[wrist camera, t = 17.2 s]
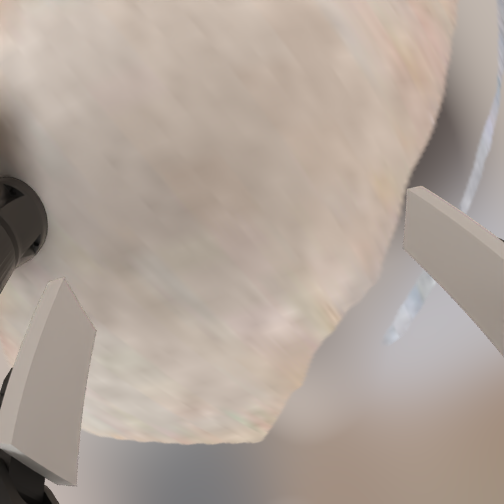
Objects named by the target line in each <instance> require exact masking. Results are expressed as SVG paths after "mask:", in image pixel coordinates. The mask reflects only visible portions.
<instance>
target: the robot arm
mask: <svg viewBox="0 0 504 504" xmlns="http://www.w3.org/2000/svg"><path fill="white" fill-rule="evenodd" d="M46 234H47V218H46V213H45V210H44V207H43V205H42V203H41V201H40V199H39V197H38V196H37V194H36V193H35V192H34V191H33V190H32V189H31V188H30V187H29V186H28V185H27V184H25V183H24V182H22V181H20V180H18V179H15V178H11V177H3V178H0V293H1V292H2V290H3V288H4V286H5V284H6V283H7V281H8V279H9V278H10V276H11V274H12V272H13V271H14V269H15V268H17V267H19V266H20V265H22V264H24V263H26V262H27V261H29V260H31V259H32V258H33V257H34V256H35V255H36V254H37V252H38V251H39V249H40V248H41V246H42V245H43V243H44V241H45V238H46ZM403 249H404V250H405V251H406V252H407V253H408V254H409V255H410V256H411V257H412V258H413V259H414V260H415V261H416V262H417V263H418V264H419V265H420V266H421V267H422V268H423V269H424V270H425V271H426V272H427V273H428V274H429V275H430V276H431V277H432V278H433V279H434V280H435V281H436V282H437V283H438V284H439V285H440V286H441V287H442V288H443V289H444V290H445V291H446V292H447V293H448V294H449V295H450V296H451V297H452V298H453V299H454V301H455V302H456V303H457V304H458V305H459V306H460V307H461V308H462V309H463V310H464V311H465V313H467V315H468V316H469V317H470V318H471V319H472V320H473V321H474V323H476V325H477V326H478V327H479V328H480V329H481V331H483V333H484V334H485V335H486V336H487V338H488V339H489V340H490V341H491V342H492V344H493V345H494V346H495V347H496V348H497V350H498V351H499V352H500V353H501V354H502V356H503V357H504V240H502V239H500V238H498V237H496V236H495V235H494V234H492V233H491V232H490V231H488V230H487V229H486V228H484V227H483V226H481V225H480V224H479V223H477V222H476V221H474V220H473V219H472V218H470V217H469V216H467V215H466V214H464V213H463V212H462V211H460V210H459V209H457V208H456V207H454V206H453V205H451V204H450V203H448V202H447V201H445V200H443V199H442V198H440V197H439V196H437V195H436V194H434V193H433V192H431V191H429V190H428V189H426V188H424V187H423V186H418V187H414V188H409V189H407V202H406V217H405V229H404V241H403ZM96 331H97V330H96V329H95V327H94V326H93V324H92V323H91V321H90V319H89V318H88V316H87V315H86V313H85V311H84V310H83V308H82V307H81V305H80V303H79V302H78V300H77V298H76V296H75V295H74V293H73V291H72V290H71V288H70V286H69V284H68V283H67V281H66V279H65V277H62V278H59V279H56V280H52V281H49V282H48V284H47V286H46V288H45V290H44V292H43V295H42V297H41V299H40V301H39V303H38V306H37V308H36V310H35V312H34V315H33V317H32V319H31V322H30V324H29V327H28V329H27V332H26V334H25V337H24V339H23V342H22V344H21V347H20V350H19V352H18V355H17V358H16V361H15V363H14V366H13V368H11V370H10V372H9V373H8V375H7V376H6V378H5V379H4V382H3V385H2V388H1V391H0V504H59V502H58V501H57V499H56V498H55V496H54V495H53V493H52V491H51V490H50V489H49V488H48V487H47V486H46V485H44V482H45V478H46V479H48V480H50V481H52V482H54V483H55V484H57V485H66V486H77V469H78V454H79V441H80V431H81V422H82V413H83V406H84V398H85V391H86V385H87V378H88V372H89V367H90V361H91V356H92V350H93V345H94V340H95V336H96Z"/></svg>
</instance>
